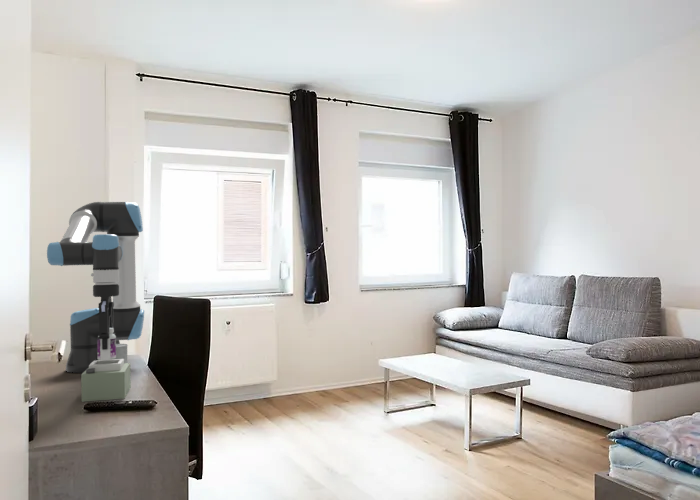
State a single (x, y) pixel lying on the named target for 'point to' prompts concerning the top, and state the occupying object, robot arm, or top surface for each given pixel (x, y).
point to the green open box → (106, 380)
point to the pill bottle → (112, 345)
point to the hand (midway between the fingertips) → (106, 358)
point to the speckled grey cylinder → (121, 352)
